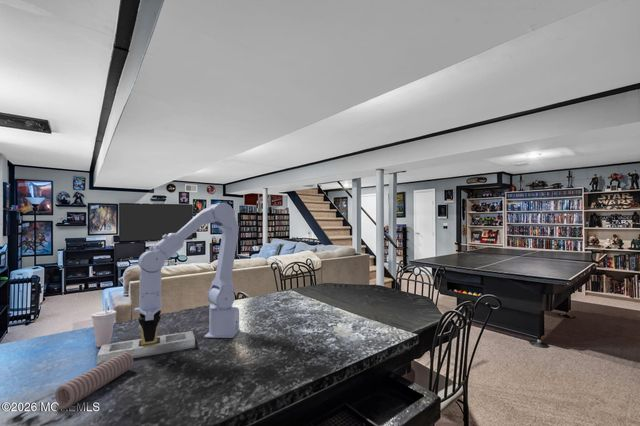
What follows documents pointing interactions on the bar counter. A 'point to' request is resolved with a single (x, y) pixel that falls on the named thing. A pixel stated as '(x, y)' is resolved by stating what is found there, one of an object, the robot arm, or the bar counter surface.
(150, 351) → the rail
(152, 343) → the drilled wooden block
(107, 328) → the smoothie
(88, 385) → the coil
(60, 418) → the bar counter surface
